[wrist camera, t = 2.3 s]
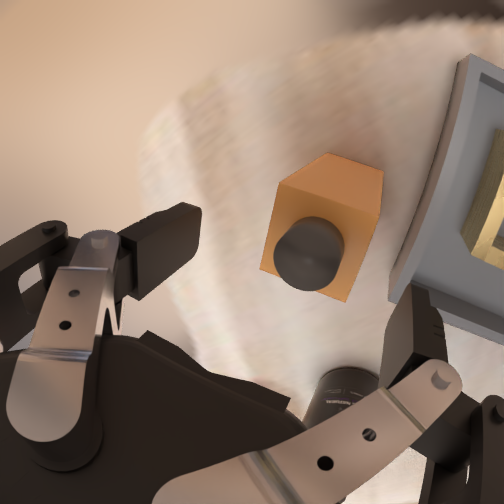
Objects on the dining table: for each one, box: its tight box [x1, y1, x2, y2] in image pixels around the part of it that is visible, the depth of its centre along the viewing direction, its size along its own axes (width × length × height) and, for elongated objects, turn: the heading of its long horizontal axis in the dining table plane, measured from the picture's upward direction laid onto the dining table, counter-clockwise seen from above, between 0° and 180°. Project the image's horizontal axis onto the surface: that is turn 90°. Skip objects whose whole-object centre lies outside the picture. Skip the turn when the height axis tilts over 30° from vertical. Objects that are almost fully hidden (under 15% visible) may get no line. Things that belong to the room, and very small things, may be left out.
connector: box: [260, 153, 384, 302], centre depth 16 cm, size 4×4×12 cm
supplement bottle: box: [302, 368, 379, 503], centre depth 23 cm, size 7×7×12 cm
